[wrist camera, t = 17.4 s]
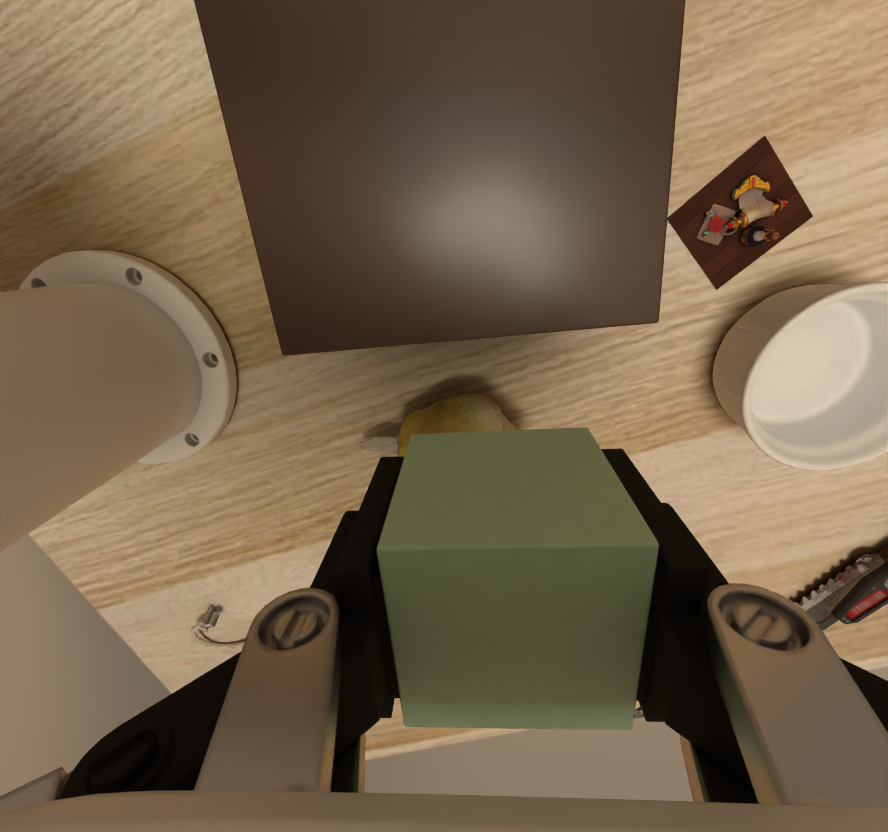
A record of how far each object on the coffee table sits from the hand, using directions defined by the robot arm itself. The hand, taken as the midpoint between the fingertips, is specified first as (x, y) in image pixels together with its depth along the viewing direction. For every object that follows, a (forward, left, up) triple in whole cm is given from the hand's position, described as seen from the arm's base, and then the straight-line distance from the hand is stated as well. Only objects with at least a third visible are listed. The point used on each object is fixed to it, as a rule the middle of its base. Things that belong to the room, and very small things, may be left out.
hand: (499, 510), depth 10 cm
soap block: (0, 0, 0) cm, 0 cm away
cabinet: (-1, +10, -15) cm, 18 cm away
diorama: (+13, +6, -15) cm, 21 cm away
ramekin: (+16, -2, -15) cm, 22 cm away
